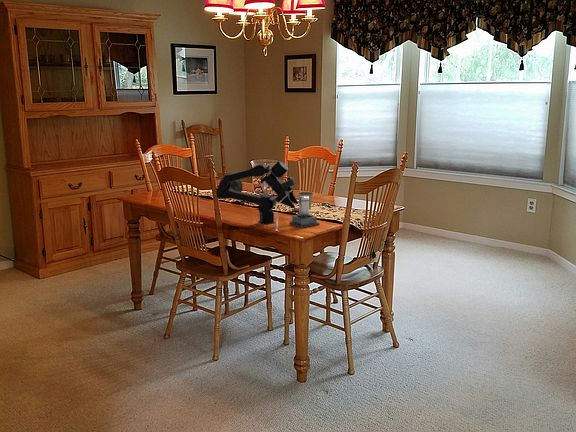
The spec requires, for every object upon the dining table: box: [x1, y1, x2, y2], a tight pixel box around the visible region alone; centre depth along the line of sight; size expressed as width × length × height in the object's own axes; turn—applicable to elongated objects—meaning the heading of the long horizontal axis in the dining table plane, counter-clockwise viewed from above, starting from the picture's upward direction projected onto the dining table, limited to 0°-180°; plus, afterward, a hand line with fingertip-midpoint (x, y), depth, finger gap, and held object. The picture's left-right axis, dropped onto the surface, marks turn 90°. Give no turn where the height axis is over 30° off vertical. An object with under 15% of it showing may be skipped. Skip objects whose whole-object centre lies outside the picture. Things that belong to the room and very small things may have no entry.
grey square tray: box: [289, 213, 320, 229], centre depth 296 cm, size 11×11×4 cm
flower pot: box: [296, 191, 315, 210], centre depth 331 cm, size 9×9×9 cm
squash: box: [218, 172, 244, 192], centre depth 371 cm, size 14×15×15 cm
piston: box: [298, 196, 310, 219], centre depth 295 cm, size 5×5×13 cm
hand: (296, 205), depth 295 cm, fingers open, 9 cm apart
